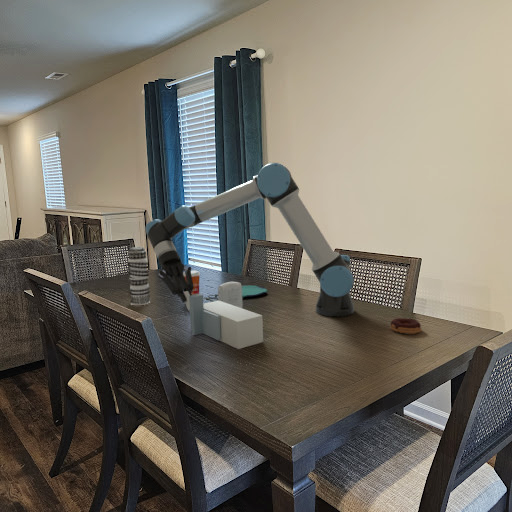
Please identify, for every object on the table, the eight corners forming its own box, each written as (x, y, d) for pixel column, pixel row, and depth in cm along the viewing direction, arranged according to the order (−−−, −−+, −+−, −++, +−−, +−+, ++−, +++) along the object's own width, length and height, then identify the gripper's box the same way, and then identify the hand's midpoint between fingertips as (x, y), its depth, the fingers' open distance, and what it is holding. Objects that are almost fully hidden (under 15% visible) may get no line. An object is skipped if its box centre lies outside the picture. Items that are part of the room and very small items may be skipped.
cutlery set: (274, 295, 213) (274, 290, 212) (218, 306, 197) (218, 301, 196) (252, 287, 229) (251, 283, 229) (198, 298, 213) (197, 293, 213)
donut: (423, 329, 160) (424, 318, 159) (417, 337, 151) (418, 326, 151) (394, 325, 165) (394, 314, 164) (387, 333, 156) (387, 322, 156)
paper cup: (184, 306, 196) (183, 274, 194) (182, 301, 204) (181, 271, 201) (202, 304, 198) (201, 272, 196) (200, 300, 206) (198, 269, 203)
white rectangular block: (262, 341, 150) (262, 315, 148) (238, 349, 144) (237, 321, 142) (219, 323, 170) (219, 300, 169) (196, 329, 164) (195, 305, 163)
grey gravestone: (238, 308, 191) (237, 279, 189) (244, 310, 187) (243, 281, 185) (217, 312, 185) (216, 282, 183) (222, 315, 182) (221, 284, 180)
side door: (220, 339, 151) (219, 300, 149) (209, 342, 149) (208, 302, 146) (201, 330, 161) (199, 293, 159) (191, 333, 158) (189, 295, 156)
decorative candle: (125, 305, 199) (121, 249, 195) (137, 300, 208) (133, 246, 204) (143, 306, 196) (140, 249, 192) (154, 301, 205) (151, 246, 201)
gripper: (180, 259, 176) (204, 310, 165) (148, 264, 168) (171, 317, 157) (186, 247, 171) (211, 299, 160) (153, 251, 163) (178, 306, 152)
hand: (191, 308), depth 159 cm, fingers closed
